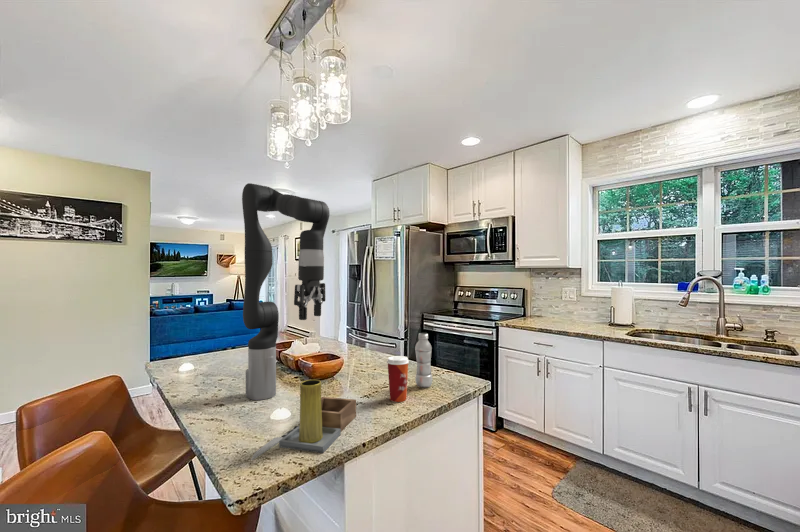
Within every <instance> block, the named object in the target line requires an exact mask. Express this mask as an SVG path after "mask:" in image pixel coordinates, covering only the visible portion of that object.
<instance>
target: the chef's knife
mask: <svg viewBox="0 0 800 532" xmlns="http://www.w3.org/2000/svg"><path fill="white" fill-rule="evenodd" d="M298 426H299V425H295V426H294V427H293V428H292V429H290V430H289V431H288V432H286V433H284V434H282V435H281V436H279V437H278V436H277V437H273V438H272V439H270V440H269V441H268V442H266V443H265V444H264V445H263V446H261V447H260V448H259V449H258V450H256V451H255V452H254V454H253V455H252V457H251V459H250V460H251V461H254V460H256V458H258V457H260V456H261V455H263V454H264V453H266V452H267V451H269V450H270V449H271V448H273V447H275V446H276V445H278V444H279V441H280V440H281V439H282V438H284V437H285V436H286V435H288V434H289V433H290V432H291V431H293V430H294V429H295V428H297V427H298Z"/></svg>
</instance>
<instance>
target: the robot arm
mask: <svg viewBox="0 0 800 532" xmlns="http://www.w3.org/2000/svg"><path fill="white" fill-rule="evenodd" d="M241 194H242V195H241V201H242V202H241V203H242V213H243V224H244V225H243V226H244V294H243V306H242V318H243V319H242V321H243V324H244V326H245V328H247V329H248V330H258V329H260V331H259V332H258V333H257V334H256V335H255V336H253V337H251V338H250V339H249V340H248V344H247V352H248V354H247V357H248V358H247V360H248V362H247V366H248V367H247V369H246V370H245V398H248V399H249V400H253V401H262V400H266V399H267V400H268V399H270V398H273V397H274V396H277V340H278V338H279V337H278V336H279V320H280V319H279V318H280V317H279V308H278V305H277V304H276V303H275V301H274V302H273V301H260V294H261V289H262V286H263V284H264V282H265V280H266V279H267V277H268V275H269V274H270V273H271V272H270V271H271V269H272V268H273V246H272V244H271V241H270V239H269V238H268V236H267V234H266V233H265V231H264V229H263V228H262V226H261V224H260V221H259V214H258V212H262V213H263V212H264V213H265V212H266V213H267V212H268V213H269V212H279V213H280V214H282V215H283V216H286V217H290V218H293V219H295V220H296V221H298V222H299V221H300V222H304V223H312V225H311V227H310V229H306V230H302V231H301V232H300V233H299V254H298V267H297V268H298V269H297V271H298V274H297V275H298V277H297V278H298V279H297V280H298V281H301V284H295V285H294V294H293V295H294V297H293V298H294V300H293V305H294V306H297V307H298V319H299V320H300V321H307V319H308V303H309V302H310V301H311V300H312V301H313V303H314V304H313V315H314V317H321V316H322V305H323V302H326V282H321V281H323V280H324V277H325V275H324V274H325V273H324V272H325V271H324V270H325V269H324V268H325V255H324V237H325V233H326V230H327V228H328V227H327V226H328V223H329V219H330V208H329V206H328V204H327V203H326V202H324V201H322V200H318V199H317V200H316V199H313V198H306V197H301V196H297V195H295V194H294V195H293V194H286V193H282V192H279V190H276V189H274V188H273V187H270V186H265V185H261V184H257V183H256V184H255V183H251V182H250V183H247V184H245V185H244V186H243V190H242V193H241Z"/></svg>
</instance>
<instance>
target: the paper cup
mask: <svg viewBox="0 0 800 532" xmlns="http://www.w3.org/2000/svg"><path fill="white" fill-rule="evenodd" d="M409 363H410V360H409V358H408V356H406V355H405V356H404V355H392V356H388V358H387V360H386V364H387V372H388V373H387V374H388V385H389V386H388V388H389V389H388V390H389V399H390V402H394V403H402V402H406V400H407V395H408V378H409V376H408V375H409Z"/></svg>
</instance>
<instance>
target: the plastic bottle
mask: <svg viewBox="0 0 800 532" xmlns="http://www.w3.org/2000/svg"><path fill="white" fill-rule="evenodd" d="M417 338H418V341H417V342H416V344H415V345H414V346H415V347H414V351H415V358H416V371H415V372H416V373H415V384H416V386H417V387H418V388H429V387H431V386H432V384H433V374H432V367H431V364H432V363H431V361H432V359H431V358H432V349H433V347H432V345H431V343H430V341H429V340H428V339H429V333H427V332H420V333H418V337H417Z"/></svg>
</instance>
